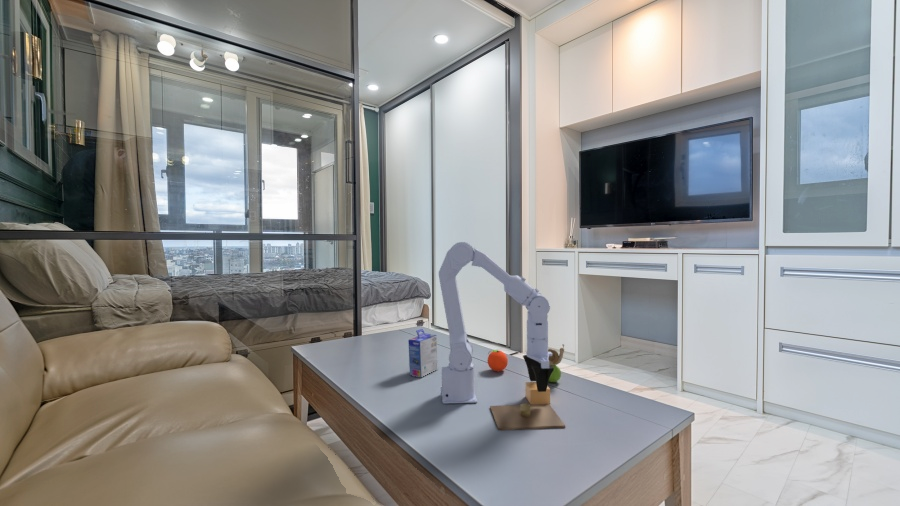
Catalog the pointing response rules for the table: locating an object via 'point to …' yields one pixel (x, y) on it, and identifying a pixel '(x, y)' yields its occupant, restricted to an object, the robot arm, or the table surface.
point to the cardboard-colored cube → (536, 394)
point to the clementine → (497, 360)
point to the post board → (526, 417)
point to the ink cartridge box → (423, 354)
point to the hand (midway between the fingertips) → (537, 385)
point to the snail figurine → (553, 362)
